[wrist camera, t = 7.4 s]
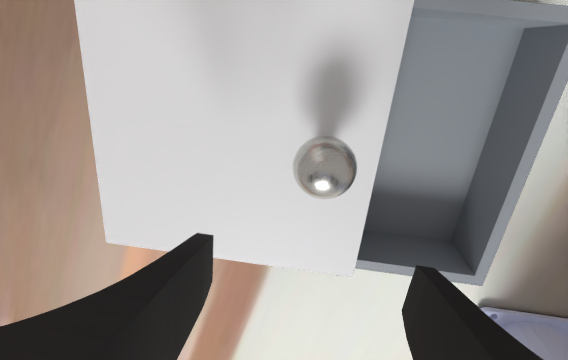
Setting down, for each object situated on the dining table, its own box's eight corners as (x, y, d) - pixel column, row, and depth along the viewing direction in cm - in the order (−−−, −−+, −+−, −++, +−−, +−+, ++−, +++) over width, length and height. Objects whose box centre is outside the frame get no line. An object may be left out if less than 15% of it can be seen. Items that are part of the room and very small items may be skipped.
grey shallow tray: (535, 17, 17) (597, 8, 13) (454, 245, 22) (482, 286, 18) (266, -9, 18) (253, -25, 14) (251, 218, 23) (238, 252, 19)
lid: (414, -15, 13) (457, -43, 9) (352, 271, 19) (361, 333, 15) (75, -47, 14) (-23, -86, 10) (111, 237, 20) (57, 287, 15)
